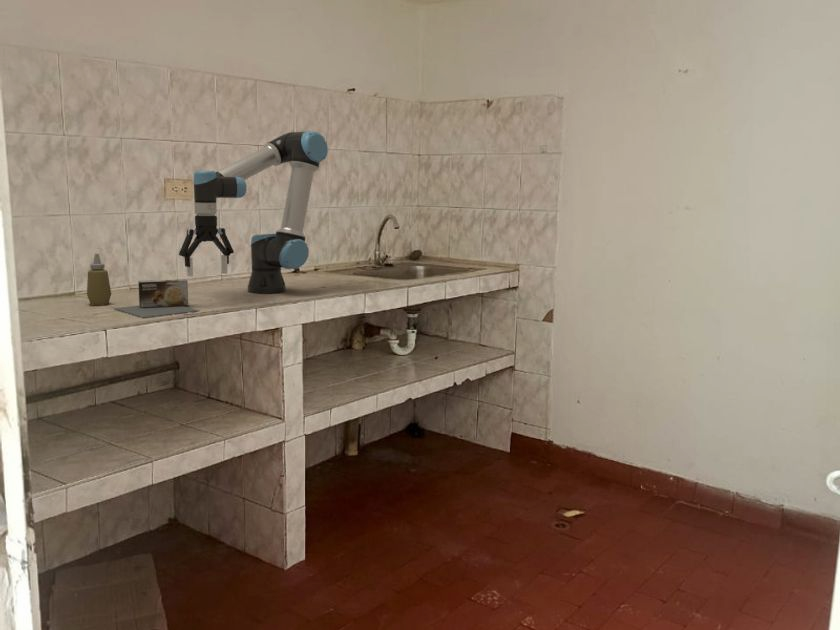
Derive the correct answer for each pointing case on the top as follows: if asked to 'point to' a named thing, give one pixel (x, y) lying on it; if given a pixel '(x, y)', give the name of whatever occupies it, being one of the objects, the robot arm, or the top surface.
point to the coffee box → (163, 293)
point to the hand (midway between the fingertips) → (207, 274)
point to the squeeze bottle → (98, 283)
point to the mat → (155, 310)
